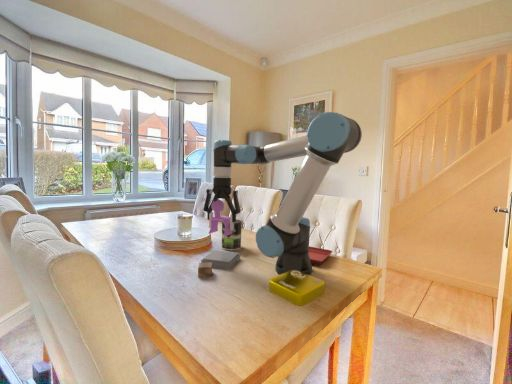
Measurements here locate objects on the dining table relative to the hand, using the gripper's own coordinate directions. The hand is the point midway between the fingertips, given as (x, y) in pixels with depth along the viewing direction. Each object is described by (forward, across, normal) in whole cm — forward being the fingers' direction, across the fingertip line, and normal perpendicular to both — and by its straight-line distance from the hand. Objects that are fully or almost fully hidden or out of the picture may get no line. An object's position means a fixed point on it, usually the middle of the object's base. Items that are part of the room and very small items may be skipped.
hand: (221, 228), depth 118 cm
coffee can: (+16, +3, -21) cm, 26 cm away
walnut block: (+16, +1, +14) cm, 21 cm away
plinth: (+15, 0, 0) cm, 15 cm away
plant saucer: (+16, -37, -19) cm, 45 cm away
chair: (+3, 0, 0) cm, 3 cm away
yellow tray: (+16, -36, +17) cm, 42 cm away
